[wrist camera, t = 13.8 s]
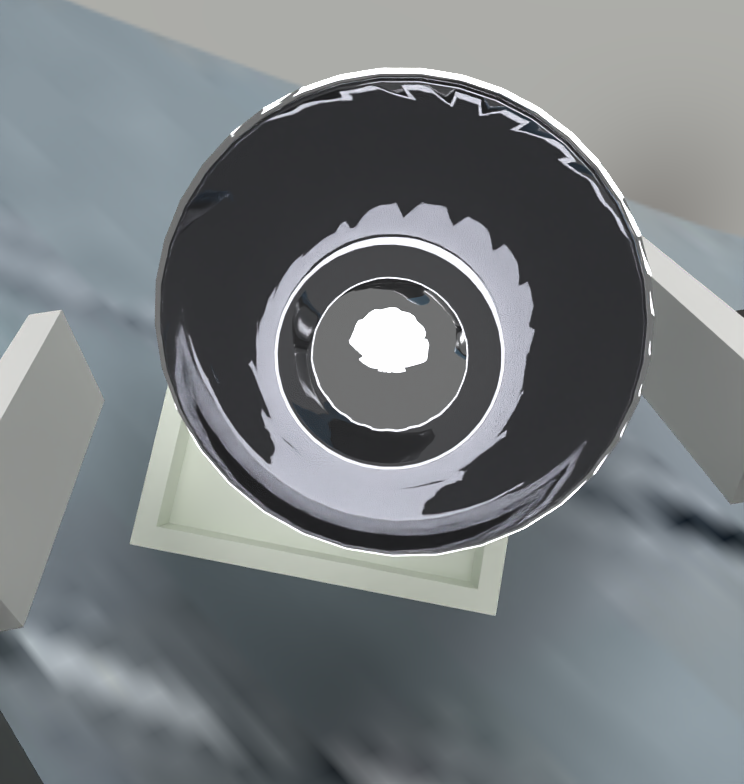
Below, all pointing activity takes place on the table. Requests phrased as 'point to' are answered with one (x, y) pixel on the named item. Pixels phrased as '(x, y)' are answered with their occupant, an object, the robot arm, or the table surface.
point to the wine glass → (404, 311)
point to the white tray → (288, 534)
